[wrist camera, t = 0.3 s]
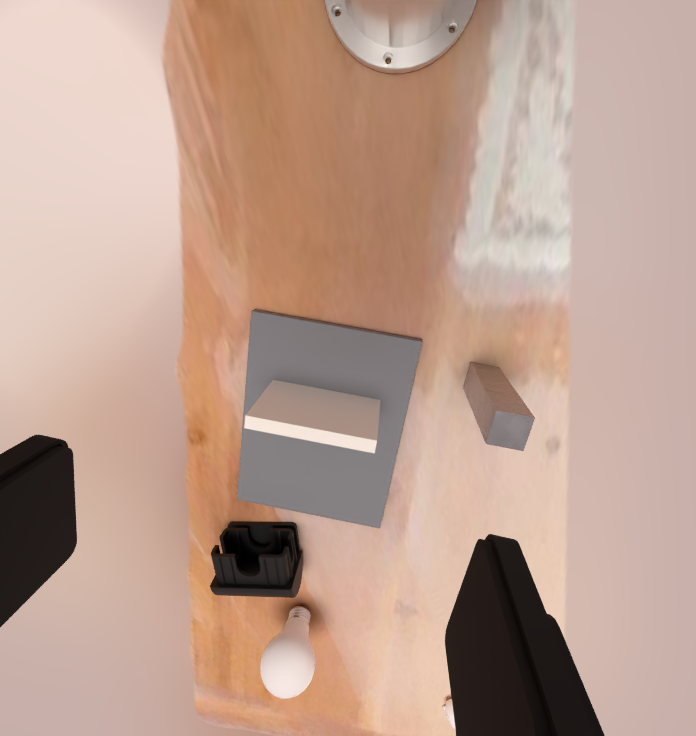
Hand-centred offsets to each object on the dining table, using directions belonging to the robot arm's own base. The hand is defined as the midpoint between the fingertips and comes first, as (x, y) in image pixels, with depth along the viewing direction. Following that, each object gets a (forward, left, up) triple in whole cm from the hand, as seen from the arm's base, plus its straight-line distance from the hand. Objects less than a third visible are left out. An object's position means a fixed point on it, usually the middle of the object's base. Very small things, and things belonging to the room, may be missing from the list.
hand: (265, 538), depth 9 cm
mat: (+16, -3, -35) cm, 39 cm away
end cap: (+35, -8, -36) cm, 50 cm away
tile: (+12, -3, -34) cm, 36 cm away
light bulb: (+45, -2, -36) cm, 57 cm away
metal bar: (+7, +13, -35) cm, 38 cm away
